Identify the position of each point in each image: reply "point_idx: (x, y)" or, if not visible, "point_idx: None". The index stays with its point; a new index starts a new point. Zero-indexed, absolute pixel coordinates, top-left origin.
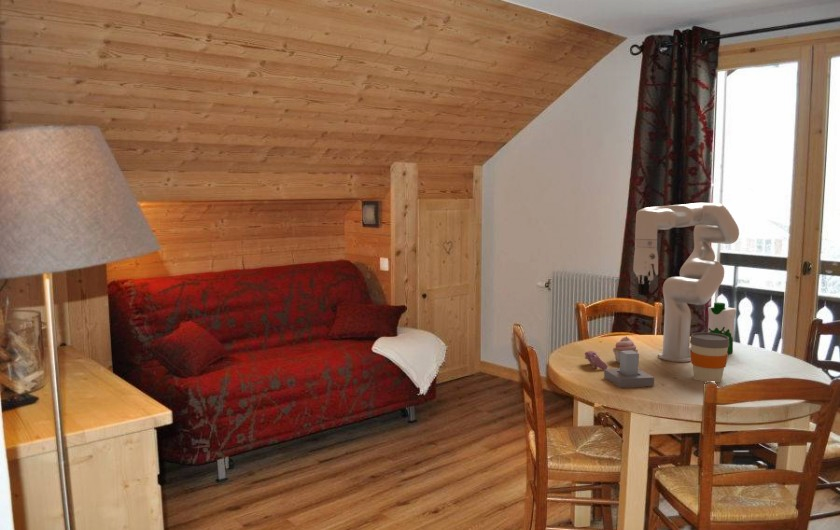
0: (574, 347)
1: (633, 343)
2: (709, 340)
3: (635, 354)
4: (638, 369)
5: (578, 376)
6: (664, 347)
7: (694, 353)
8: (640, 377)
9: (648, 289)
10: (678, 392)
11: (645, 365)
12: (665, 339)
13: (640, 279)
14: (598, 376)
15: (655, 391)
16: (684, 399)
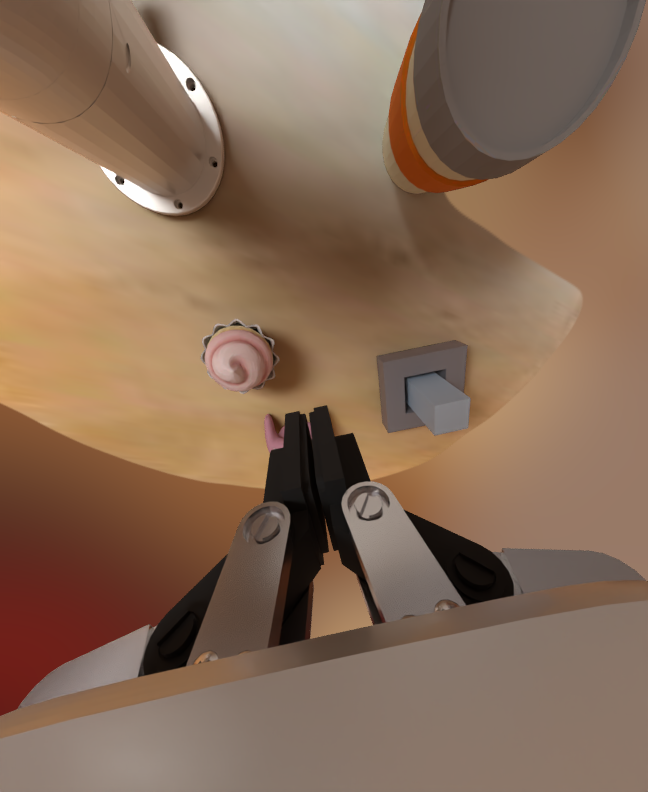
0: (106, 439)
1: (247, 344)
2: (603, 92)
3: (468, 405)
4: (398, 362)
5: (368, 462)
6: (158, 186)
7: (478, 182)
8: (460, 376)
9: (333, 436)
10: (508, 299)
11: (276, 299)
12: (144, 173)
13: (307, 619)
14: (371, 430)
15: (487, 348)
16: (552, 304)
